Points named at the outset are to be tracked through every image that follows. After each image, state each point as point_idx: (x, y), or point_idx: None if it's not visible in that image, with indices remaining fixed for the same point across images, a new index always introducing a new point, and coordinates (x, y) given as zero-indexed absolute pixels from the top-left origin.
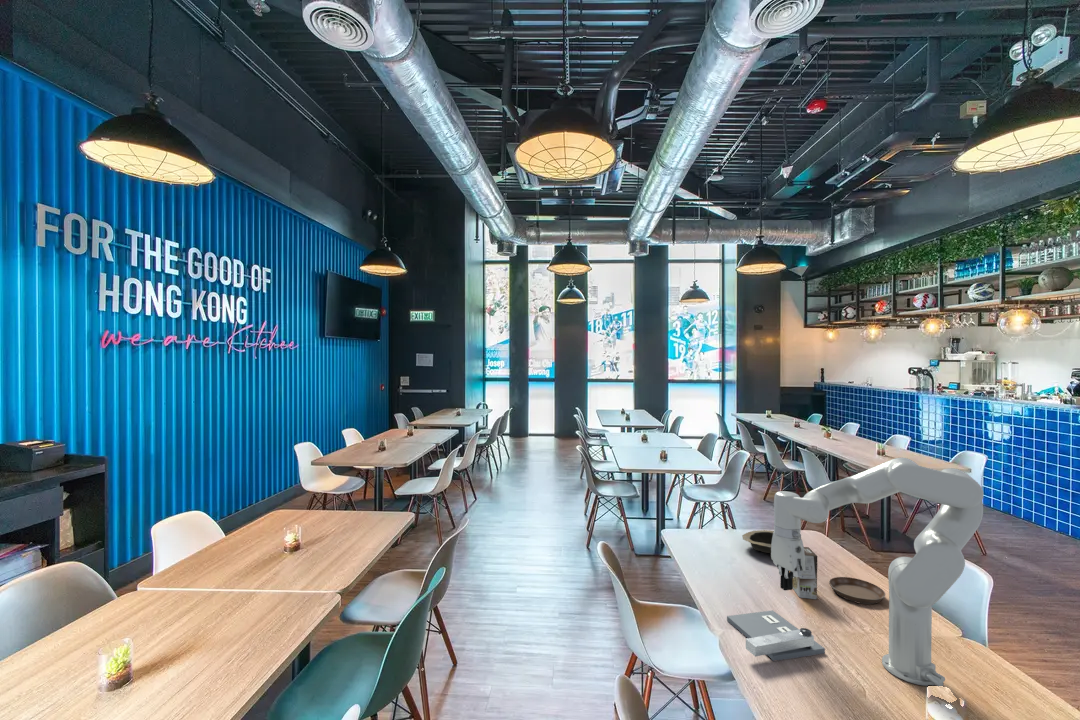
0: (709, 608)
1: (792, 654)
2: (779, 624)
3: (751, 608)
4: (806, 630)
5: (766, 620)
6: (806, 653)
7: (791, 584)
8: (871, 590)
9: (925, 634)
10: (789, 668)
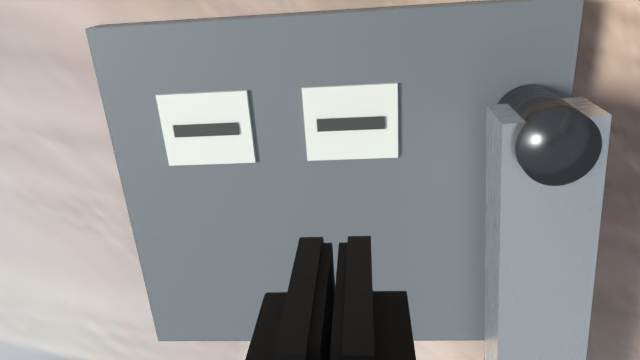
0: (48, 340)
1: None
2: (268, 108)
3: (27, 118)
4: (557, 140)
5: (217, 162)
6: None
7: (411, 329)
8: None
9: None
10: (605, 289)
